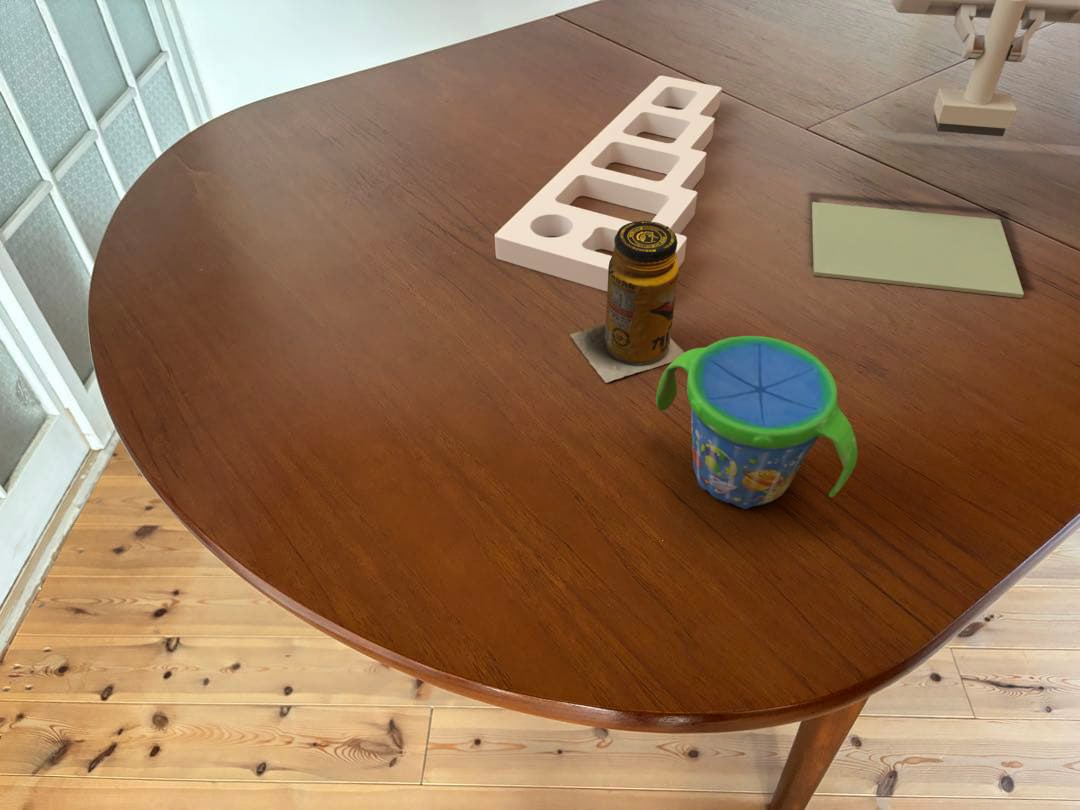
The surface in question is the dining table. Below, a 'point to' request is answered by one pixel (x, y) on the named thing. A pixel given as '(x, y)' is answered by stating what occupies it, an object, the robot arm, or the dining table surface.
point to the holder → (617, 185)
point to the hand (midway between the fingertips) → (993, 58)
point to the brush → (984, 81)
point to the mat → (913, 249)
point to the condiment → (636, 304)
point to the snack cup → (757, 416)
